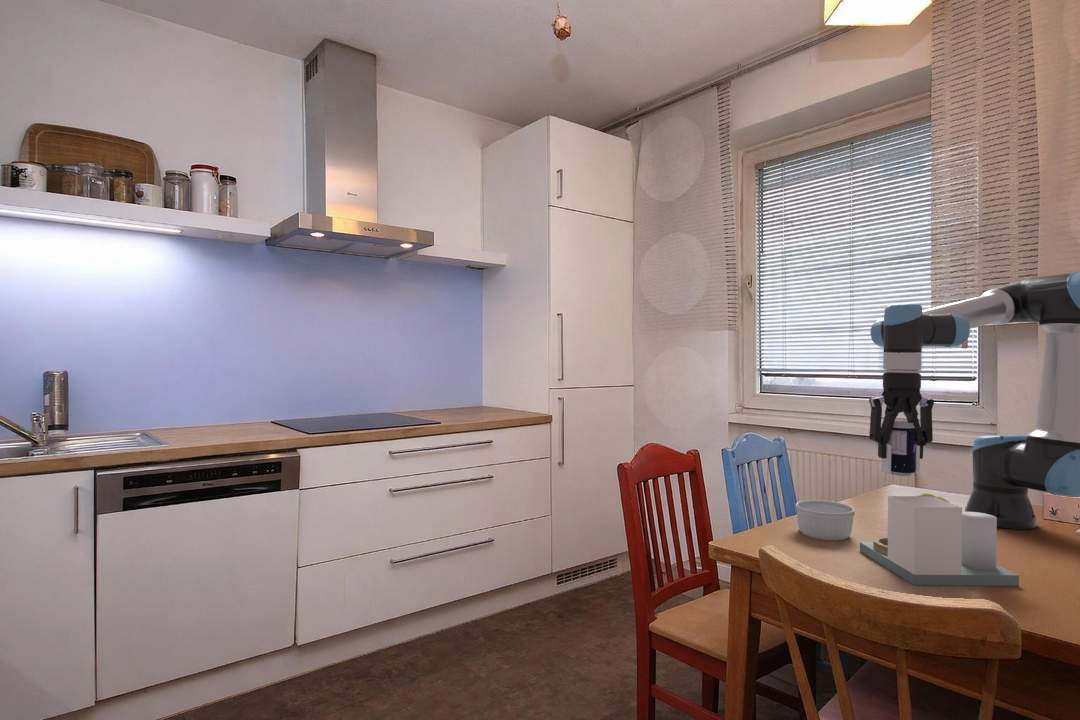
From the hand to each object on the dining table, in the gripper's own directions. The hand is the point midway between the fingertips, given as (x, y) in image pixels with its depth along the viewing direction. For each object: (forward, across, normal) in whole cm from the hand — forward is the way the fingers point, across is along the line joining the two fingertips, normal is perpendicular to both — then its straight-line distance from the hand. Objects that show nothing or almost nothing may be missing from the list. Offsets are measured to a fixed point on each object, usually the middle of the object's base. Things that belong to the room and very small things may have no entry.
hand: (900, 472), depth 138 cm
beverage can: (+1, 0, 0) cm, 1 cm away
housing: (+15, +6, +18) cm, 24 cm away
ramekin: (+18, +12, -10) cm, 24 cm away
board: (+17, 0, +13) cm, 21 cm away
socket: (+15, +5, +8) cm, 18 cm away
